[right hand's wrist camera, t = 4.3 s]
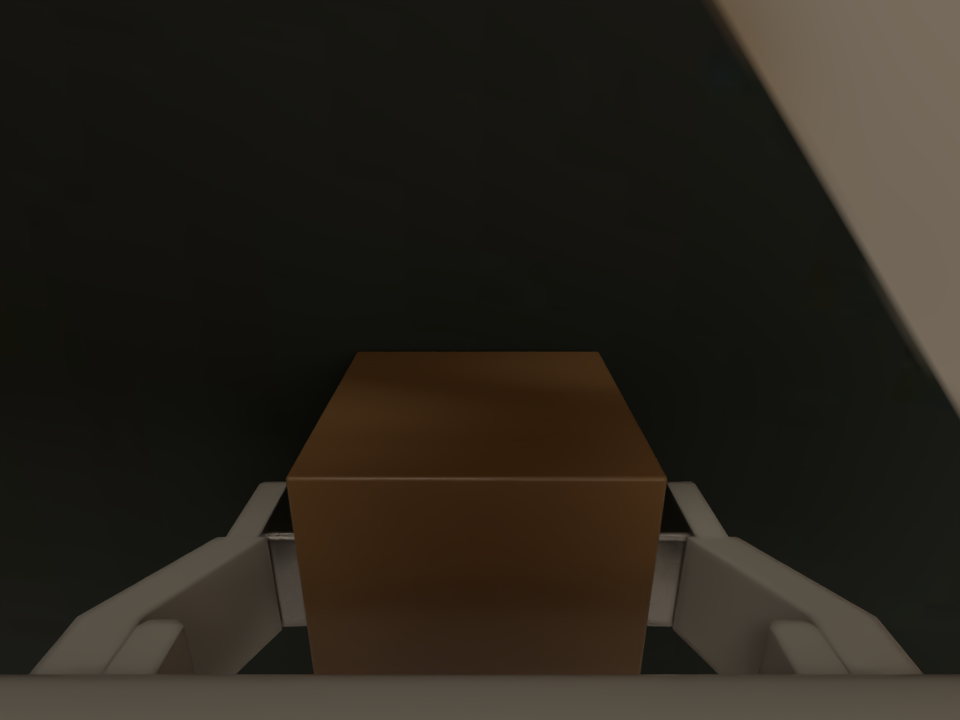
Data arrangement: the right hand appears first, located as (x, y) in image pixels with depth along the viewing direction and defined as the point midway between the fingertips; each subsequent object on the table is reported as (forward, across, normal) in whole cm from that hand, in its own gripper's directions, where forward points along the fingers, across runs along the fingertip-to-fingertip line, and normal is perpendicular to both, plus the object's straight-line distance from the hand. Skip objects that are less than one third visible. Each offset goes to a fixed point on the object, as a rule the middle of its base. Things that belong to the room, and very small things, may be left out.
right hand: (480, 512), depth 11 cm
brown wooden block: (+2, 0, 0) cm, 2 cm away
